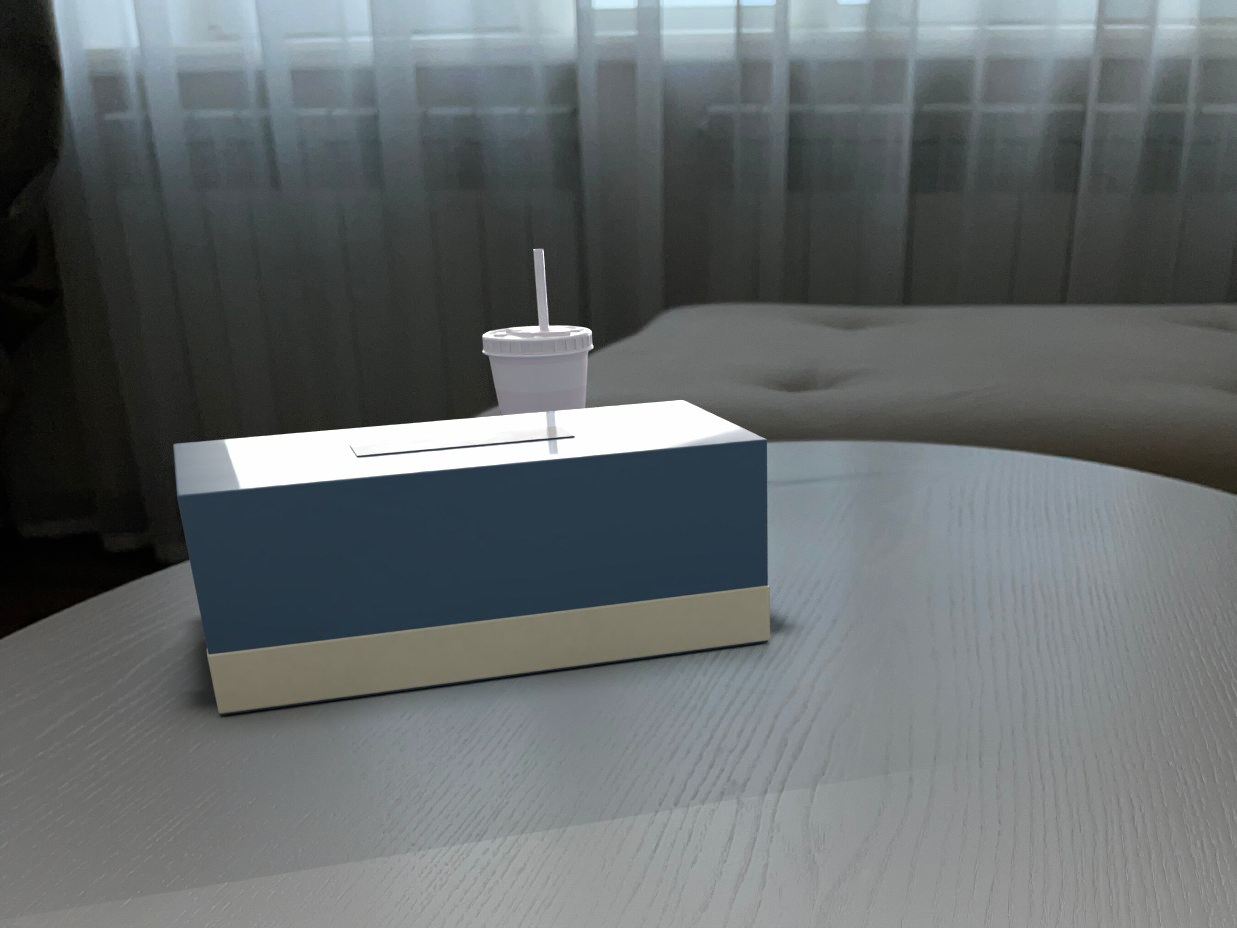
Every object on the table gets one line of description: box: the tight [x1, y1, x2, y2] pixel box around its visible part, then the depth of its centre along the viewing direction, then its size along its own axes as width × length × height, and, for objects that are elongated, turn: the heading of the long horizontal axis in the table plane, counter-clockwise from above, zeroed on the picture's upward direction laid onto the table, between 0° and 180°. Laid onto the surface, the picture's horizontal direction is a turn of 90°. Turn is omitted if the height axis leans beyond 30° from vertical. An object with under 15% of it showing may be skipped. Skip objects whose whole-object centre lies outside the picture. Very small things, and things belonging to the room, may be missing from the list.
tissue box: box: [172, 399, 771, 716], centre depth 62 cm, size 23×11×8 cm, turn 108°
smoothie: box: [481, 248, 594, 416], centre depth 84 cm, size 6×6×14 cm
